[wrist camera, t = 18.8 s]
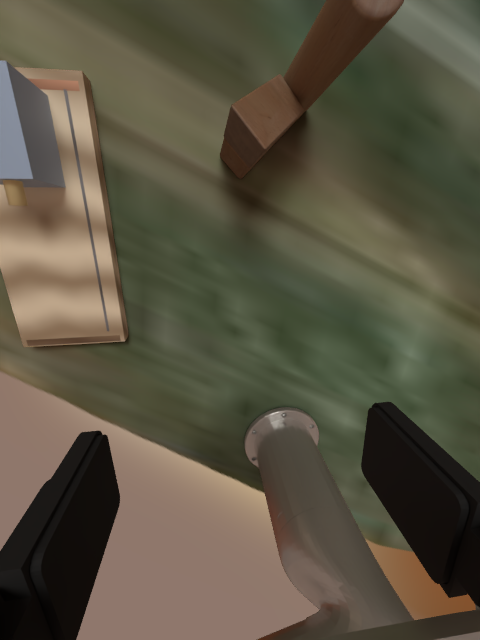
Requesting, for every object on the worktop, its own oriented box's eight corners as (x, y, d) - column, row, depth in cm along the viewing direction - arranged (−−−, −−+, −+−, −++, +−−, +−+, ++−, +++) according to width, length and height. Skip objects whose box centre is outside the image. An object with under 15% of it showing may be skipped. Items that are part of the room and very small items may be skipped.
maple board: (128, 335, 37) (124, 341, 35) (33, 340, 36) (23, 347, 34) (89, 81, 28) (81, 70, 26) (-42, 74, 27) (-60, 63, 25)
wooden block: (218, 155, 32) (236, 77, 15) (287, 79, 30) (394, -104, 13) (240, 181, 33) (280, 136, 16) (307, 109, 31) (429, -24, 14)
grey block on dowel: (69, 207, 30) (39, 204, 24) (19, 208, 29) (-25, 204, 23) (42, 69, 26) (-2, 26, 20) (-17, 66, 25) (-80, 21, 20)
